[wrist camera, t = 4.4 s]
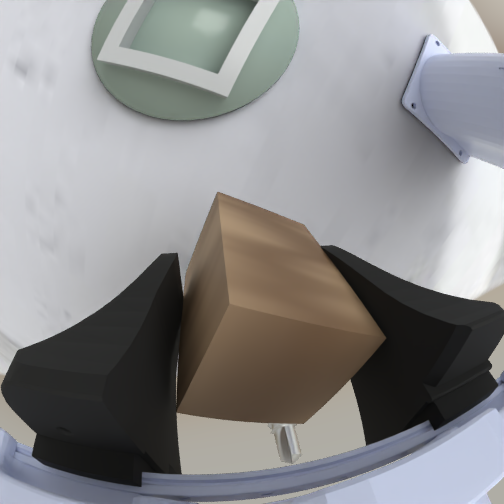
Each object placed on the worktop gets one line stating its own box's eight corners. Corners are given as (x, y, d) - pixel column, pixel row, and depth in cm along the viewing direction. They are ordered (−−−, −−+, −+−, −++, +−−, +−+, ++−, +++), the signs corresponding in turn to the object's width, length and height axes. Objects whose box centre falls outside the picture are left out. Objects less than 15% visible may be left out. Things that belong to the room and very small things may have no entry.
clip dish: (324, -5, 12) (339, -16, 10) (246, 149, 17) (251, 155, 15) (151, -57, 8) (146, -73, 6) (67, 94, 13) (49, 93, 11)
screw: (284, 294, 23) (284, 336, 25) (225, 303, 22) (232, 344, 24) (340, 439, 11) (326, 464, 14) (246, 459, 11) (253, 479, 13)
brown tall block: (303, 224, 12) (386, 338, 6) (265, 295, 14) (303, 423, 7) (217, 191, 11) (230, 303, 5) (185, 273, 12) (176, 412, 6)
